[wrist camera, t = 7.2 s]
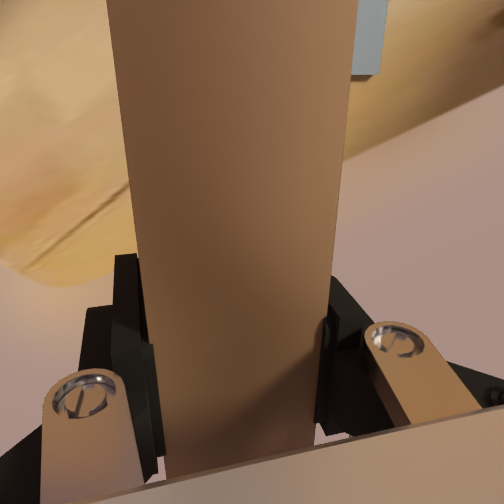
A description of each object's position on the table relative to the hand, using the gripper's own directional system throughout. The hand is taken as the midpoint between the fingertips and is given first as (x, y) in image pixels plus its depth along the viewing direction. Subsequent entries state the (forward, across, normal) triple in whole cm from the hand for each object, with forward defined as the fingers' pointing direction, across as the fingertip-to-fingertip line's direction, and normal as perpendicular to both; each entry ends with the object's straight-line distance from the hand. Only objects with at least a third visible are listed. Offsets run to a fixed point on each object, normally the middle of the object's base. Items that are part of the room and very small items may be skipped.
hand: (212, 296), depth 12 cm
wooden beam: (+1, 0, 0) cm, 1 cm away
